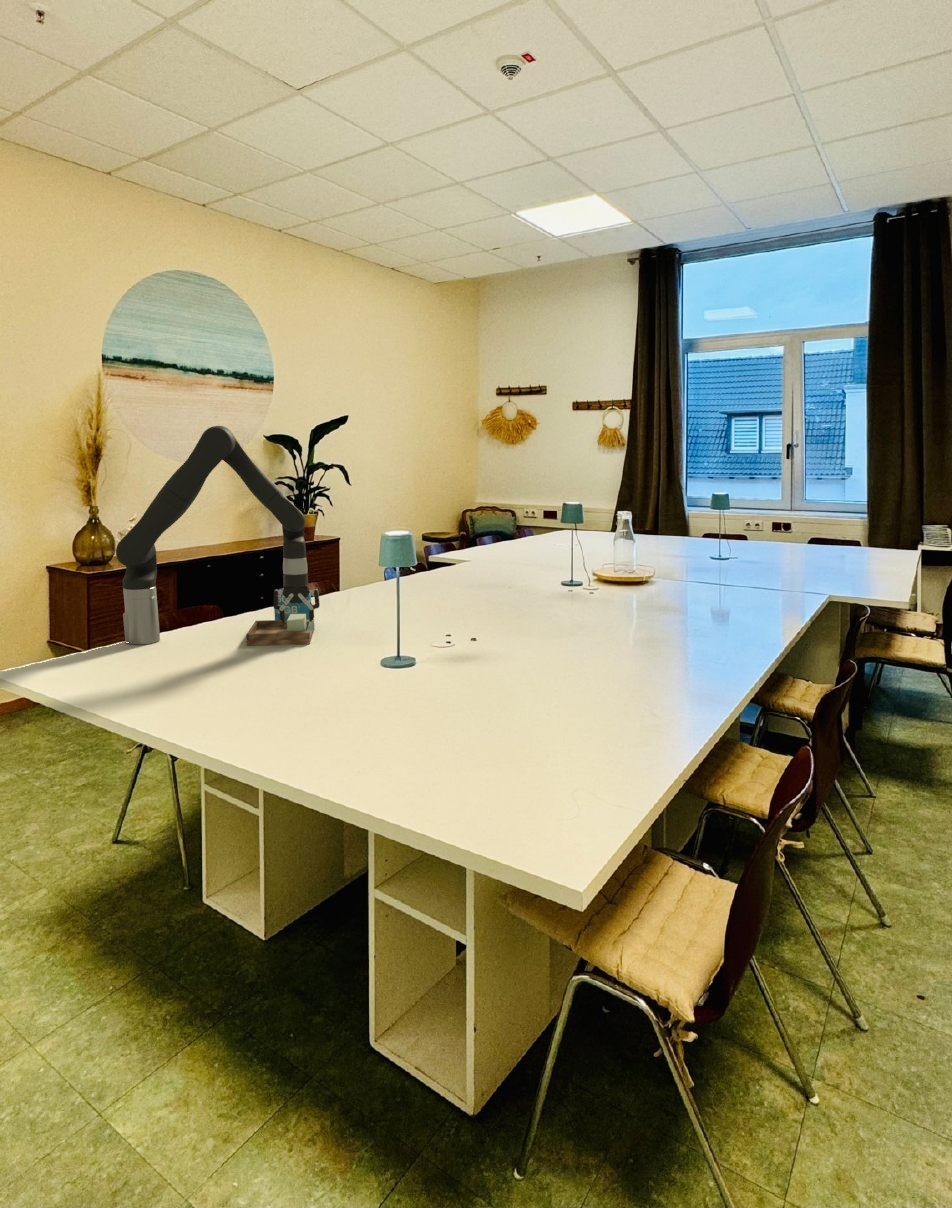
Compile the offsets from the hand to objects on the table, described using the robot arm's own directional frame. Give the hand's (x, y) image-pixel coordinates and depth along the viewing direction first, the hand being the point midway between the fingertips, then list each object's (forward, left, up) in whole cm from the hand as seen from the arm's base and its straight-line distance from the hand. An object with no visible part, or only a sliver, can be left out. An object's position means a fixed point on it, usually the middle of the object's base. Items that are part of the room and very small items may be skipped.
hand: (297, 621), depth 234 cm
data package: (-3, +17, -5) cm, 18 cm away
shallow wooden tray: (-5, 0, -5) cm, 7 cm away
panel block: (0, 0, -4) cm, 4 cm away
